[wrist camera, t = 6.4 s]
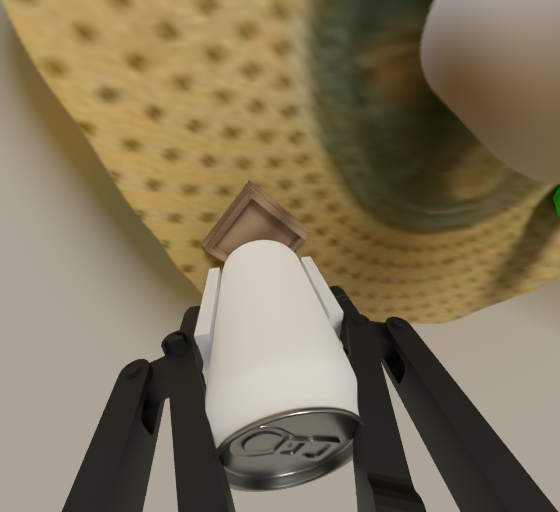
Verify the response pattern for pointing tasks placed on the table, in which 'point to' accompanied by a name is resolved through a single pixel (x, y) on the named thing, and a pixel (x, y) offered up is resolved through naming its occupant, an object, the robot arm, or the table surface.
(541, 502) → the robot arm
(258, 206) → the tray
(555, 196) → the plastic bottle
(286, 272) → the can
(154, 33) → the table surface
